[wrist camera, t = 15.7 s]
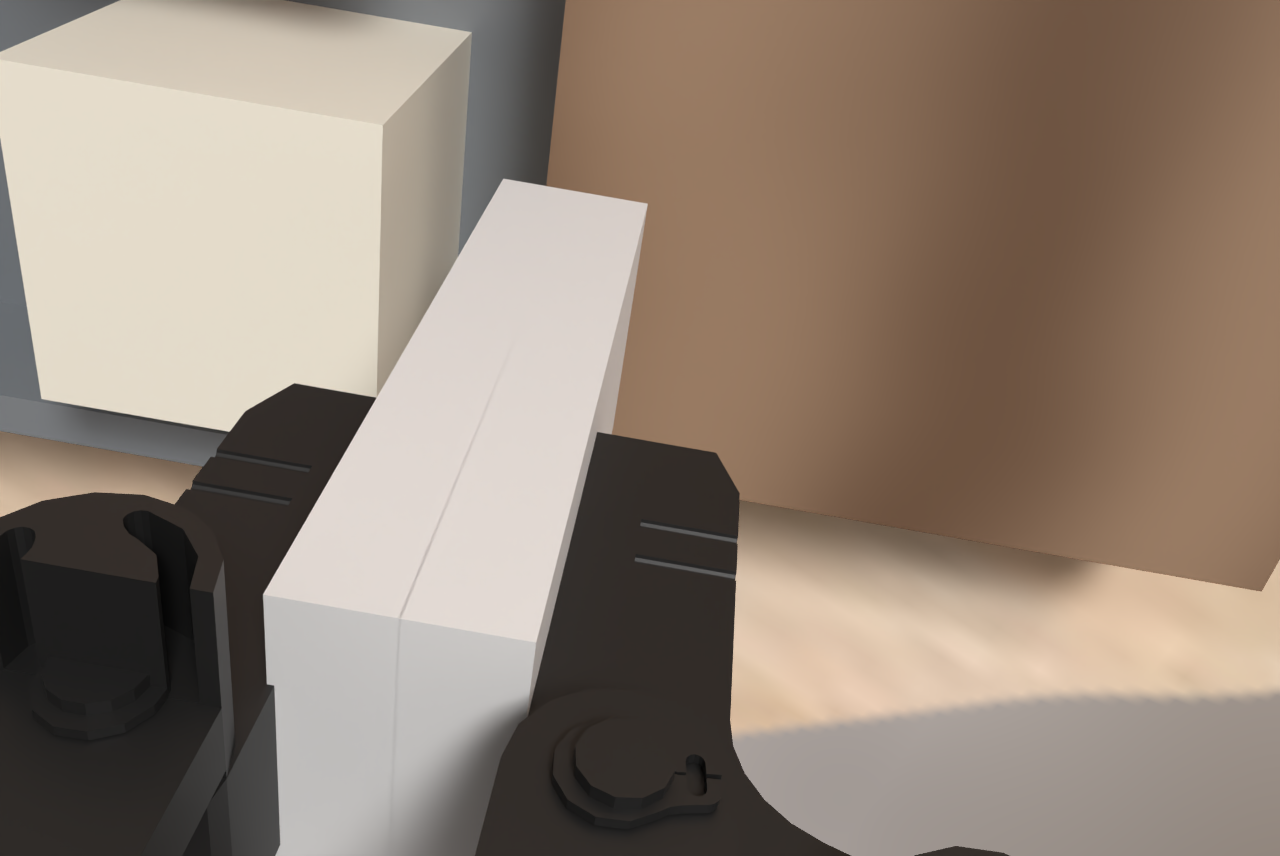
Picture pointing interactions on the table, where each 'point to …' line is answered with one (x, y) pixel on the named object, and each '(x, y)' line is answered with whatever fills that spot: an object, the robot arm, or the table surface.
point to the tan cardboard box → (954, 260)
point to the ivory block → (230, 199)
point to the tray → (494, 150)
